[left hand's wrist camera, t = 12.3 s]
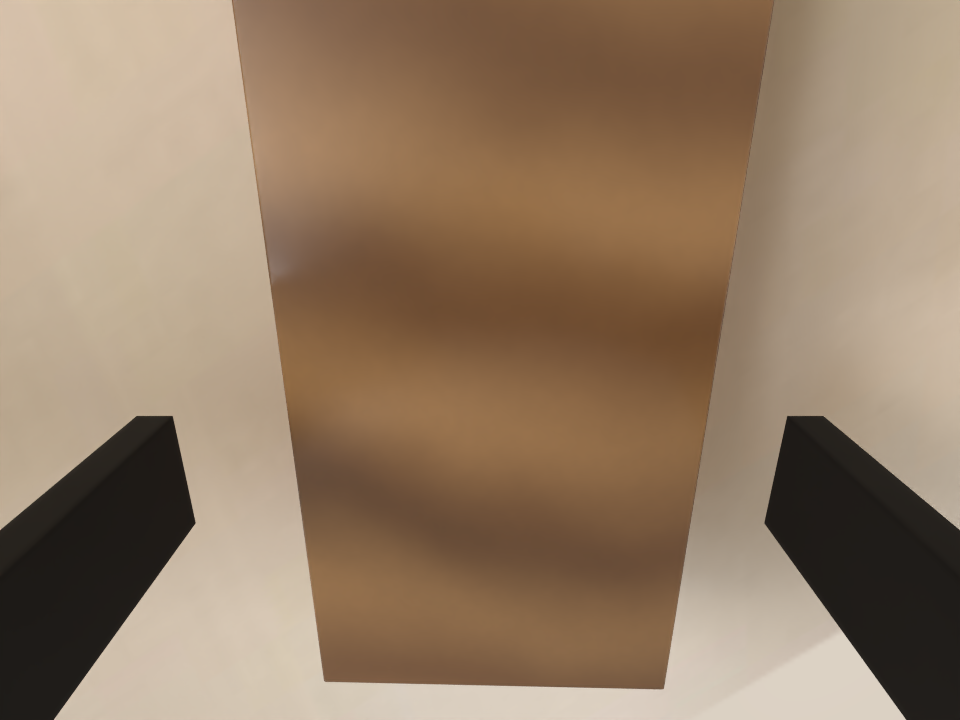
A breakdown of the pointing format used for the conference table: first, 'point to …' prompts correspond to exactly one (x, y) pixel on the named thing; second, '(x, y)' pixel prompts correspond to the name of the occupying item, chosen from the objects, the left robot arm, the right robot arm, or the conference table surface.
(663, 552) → the striped wooden beam
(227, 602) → the conference table surface
